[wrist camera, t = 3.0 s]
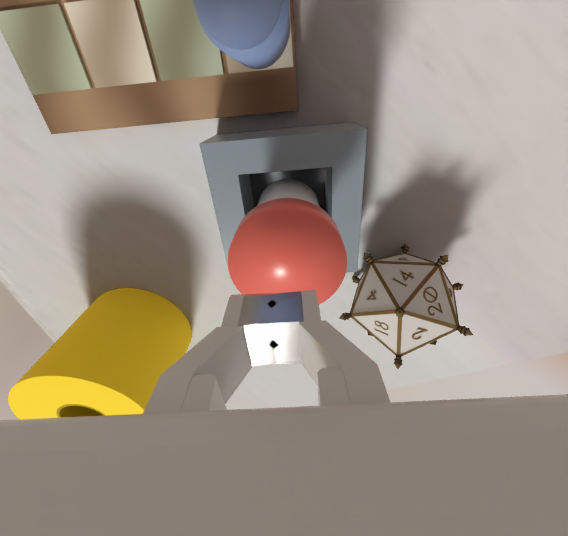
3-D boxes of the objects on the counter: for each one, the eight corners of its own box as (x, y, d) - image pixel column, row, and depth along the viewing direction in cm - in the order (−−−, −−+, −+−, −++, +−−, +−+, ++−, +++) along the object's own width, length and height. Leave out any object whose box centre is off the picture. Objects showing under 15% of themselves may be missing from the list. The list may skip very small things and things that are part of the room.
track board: (287, -82, 13) (287, -95, 12) (297, 109, 17) (298, 110, 17) (-20, -38, 14) (-40, -47, 13) (60, 132, 18) (49, 134, 18)
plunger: (328, 165, 16) (349, 205, 10) (328, 242, 19) (345, 309, 13) (242, 172, 17) (215, 215, 11) (254, 247, 19) (238, 314, 14)
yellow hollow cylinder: (89, 344, 30) (15, 435, 22) (93, 273, 25) (-2, 359, 17) (181, 368, 32) (144, 461, 24) (201, 307, 27) (163, 399, 19)
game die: (358, 244, 27) (332, 238, 18) (460, 245, 23) (491, 239, 14) (354, 334, 27) (327, 372, 18) (453, 348, 24) (480, 404, 15)
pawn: (287, -25, 14) (282, -130, 7) (292, 65, 15) (291, 44, 9) (215, -16, 14) (150, -111, 7) (228, 72, 16) (185, 55, 9)
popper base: (352, 121, 18) (367, 128, 14) (347, 245, 23) (357, 271, 19) (216, 134, 18) (199, 143, 15) (239, 252, 23) (230, 279, 20)
